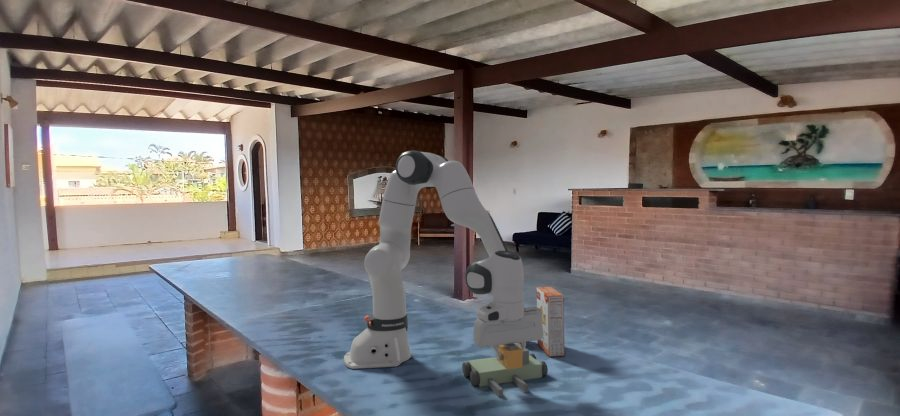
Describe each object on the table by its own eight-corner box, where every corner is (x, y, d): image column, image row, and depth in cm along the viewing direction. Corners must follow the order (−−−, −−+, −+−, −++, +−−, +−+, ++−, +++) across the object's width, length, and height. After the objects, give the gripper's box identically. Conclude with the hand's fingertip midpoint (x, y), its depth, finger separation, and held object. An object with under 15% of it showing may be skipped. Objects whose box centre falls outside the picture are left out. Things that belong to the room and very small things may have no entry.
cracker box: (536, 343, 168) (535, 286, 167) (552, 342, 169) (552, 286, 168) (547, 357, 154) (547, 295, 153) (565, 356, 155) (565, 294, 154)
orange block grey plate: (507, 369, 126) (507, 348, 126) (497, 360, 133) (496, 340, 132) (522, 367, 127) (522, 346, 127) (511, 358, 134) (511, 338, 134)
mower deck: (484, 399, 124) (484, 370, 124) (462, 373, 142) (461, 347, 142) (560, 387, 131) (560, 359, 131) (530, 364, 149) (530, 339, 148)
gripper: (536, 303, 135) (537, 349, 136) (470, 310, 129) (471, 359, 130) (547, 308, 129) (548, 357, 130) (478, 316, 123) (480, 367, 124)
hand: (509, 358), depth 130 cm, fingers closed on orange block grey plate, 4 cm apart
